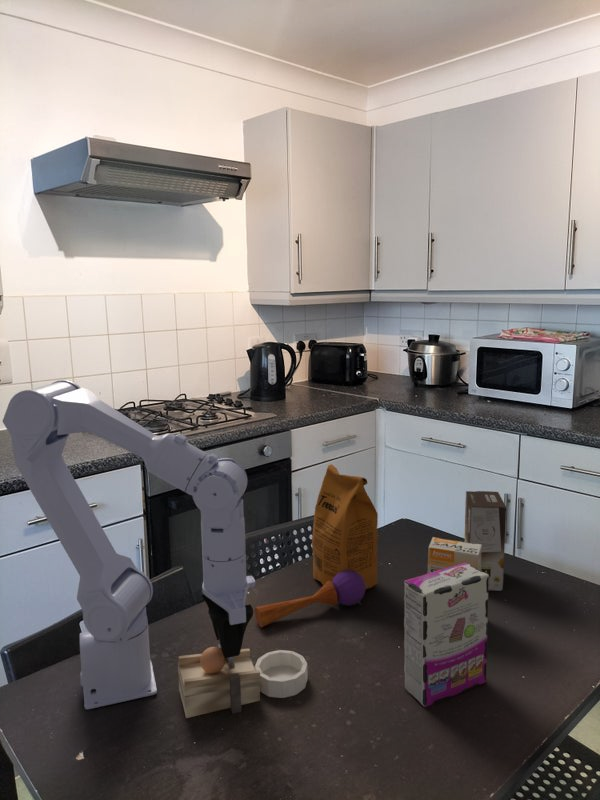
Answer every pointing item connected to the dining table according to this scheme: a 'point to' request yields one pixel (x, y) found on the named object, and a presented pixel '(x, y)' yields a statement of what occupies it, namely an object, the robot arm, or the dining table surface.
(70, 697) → the dining table surface
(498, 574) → the coffee box
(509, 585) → the dining table surface
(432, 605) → the candy bar box
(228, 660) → the gate
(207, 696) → the wooden box
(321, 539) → the coffee package
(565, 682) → the dining table surface
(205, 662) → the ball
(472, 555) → the supplement box
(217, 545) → the robot arm
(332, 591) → the kendama
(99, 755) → the dining table surface
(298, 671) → the white round shallow bowl
